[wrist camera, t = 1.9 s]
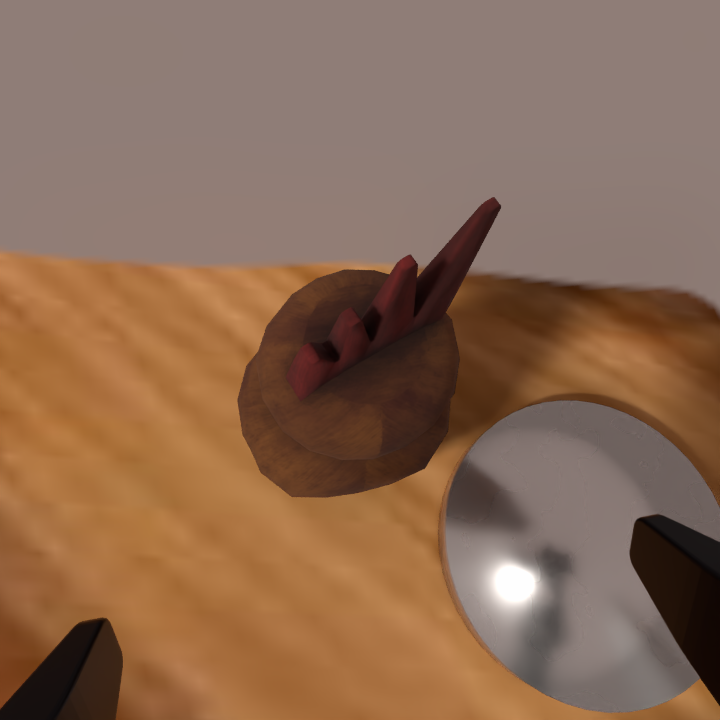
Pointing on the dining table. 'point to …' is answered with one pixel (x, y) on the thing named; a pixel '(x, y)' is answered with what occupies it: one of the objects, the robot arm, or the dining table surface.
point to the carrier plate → (569, 551)
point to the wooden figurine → (359, 373)
